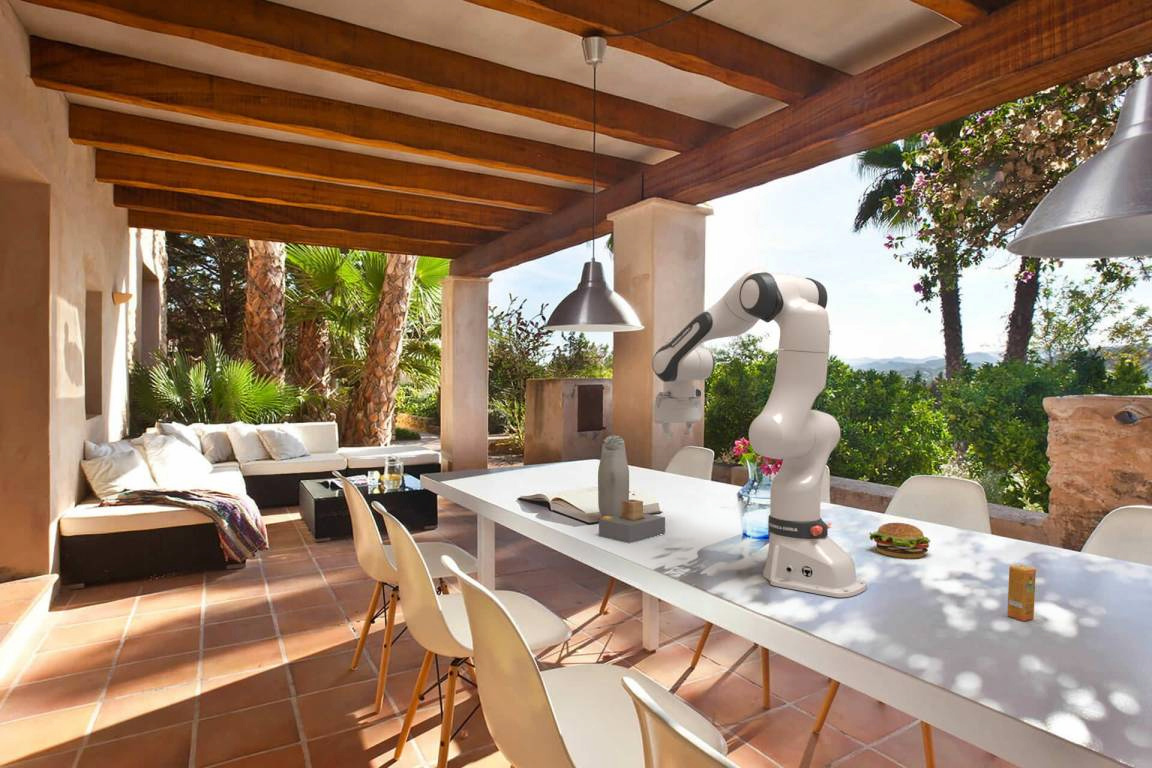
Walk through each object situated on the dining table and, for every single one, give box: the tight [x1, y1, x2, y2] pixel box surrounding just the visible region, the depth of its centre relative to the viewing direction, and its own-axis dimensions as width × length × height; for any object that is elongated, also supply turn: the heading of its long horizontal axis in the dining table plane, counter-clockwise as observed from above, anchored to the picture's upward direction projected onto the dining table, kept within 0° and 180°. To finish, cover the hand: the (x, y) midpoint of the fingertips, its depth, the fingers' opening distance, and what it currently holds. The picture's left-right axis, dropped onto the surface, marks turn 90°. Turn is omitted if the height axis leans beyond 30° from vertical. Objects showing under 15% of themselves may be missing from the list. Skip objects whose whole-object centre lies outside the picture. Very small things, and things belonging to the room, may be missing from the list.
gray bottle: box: [597, 434, 630, 518], centre depth 214 cm, size 10×10×28 cm
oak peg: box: [622, 499, 644, 521], centre depth 195 cm, size 4×4×9 cm
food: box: [869, 522, 932, 559], centre depth 175 cm, size 14×14×8 cm
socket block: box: [598, 512, 666, 544], centre depth 195 cm, size 12×16×6 cm
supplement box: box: [1007, 563, 1037, 622], centre depth 127 cm, size 3×3×10 cm
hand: (678, 437), depth 198 cm, fingers open, 8 cm apart
